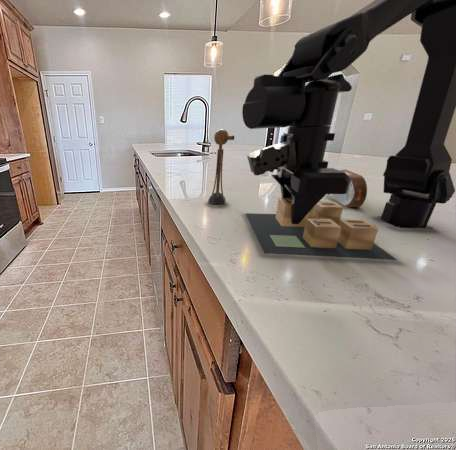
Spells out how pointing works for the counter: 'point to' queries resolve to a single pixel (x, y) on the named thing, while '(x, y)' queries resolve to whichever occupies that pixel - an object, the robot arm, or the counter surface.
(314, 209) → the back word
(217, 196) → the wooden tabletop sculpture
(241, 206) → the counter surface
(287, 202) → the s tile
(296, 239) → the letter mat
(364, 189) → the tin
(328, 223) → the front word
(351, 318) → the counter surface
